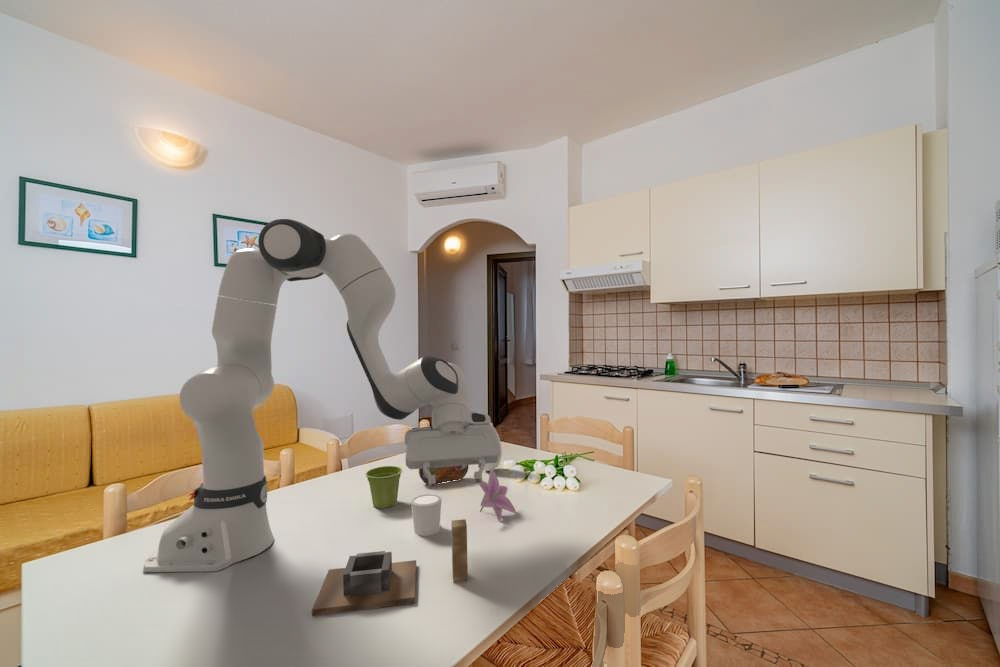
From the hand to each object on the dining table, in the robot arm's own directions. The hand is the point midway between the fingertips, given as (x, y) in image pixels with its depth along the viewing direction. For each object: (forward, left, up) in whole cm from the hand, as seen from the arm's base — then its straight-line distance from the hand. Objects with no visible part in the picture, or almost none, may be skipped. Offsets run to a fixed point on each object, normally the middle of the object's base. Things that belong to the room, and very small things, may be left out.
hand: (455, 483), depth 88 cm
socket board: (-16, -10, -14) cm, 23 cm away
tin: (-1, +43, -14) cm, 46 cm away
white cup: (-6, +11, -14) cm, 19 cm away
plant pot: (-17, +29, -14) cm, 37 cm away
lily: (+10, +16, -14) cm, 24 cm away
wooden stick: (0, -10, -14) cm, 17 cm away
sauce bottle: (+14, +50, -14) cm, 54 cm away
